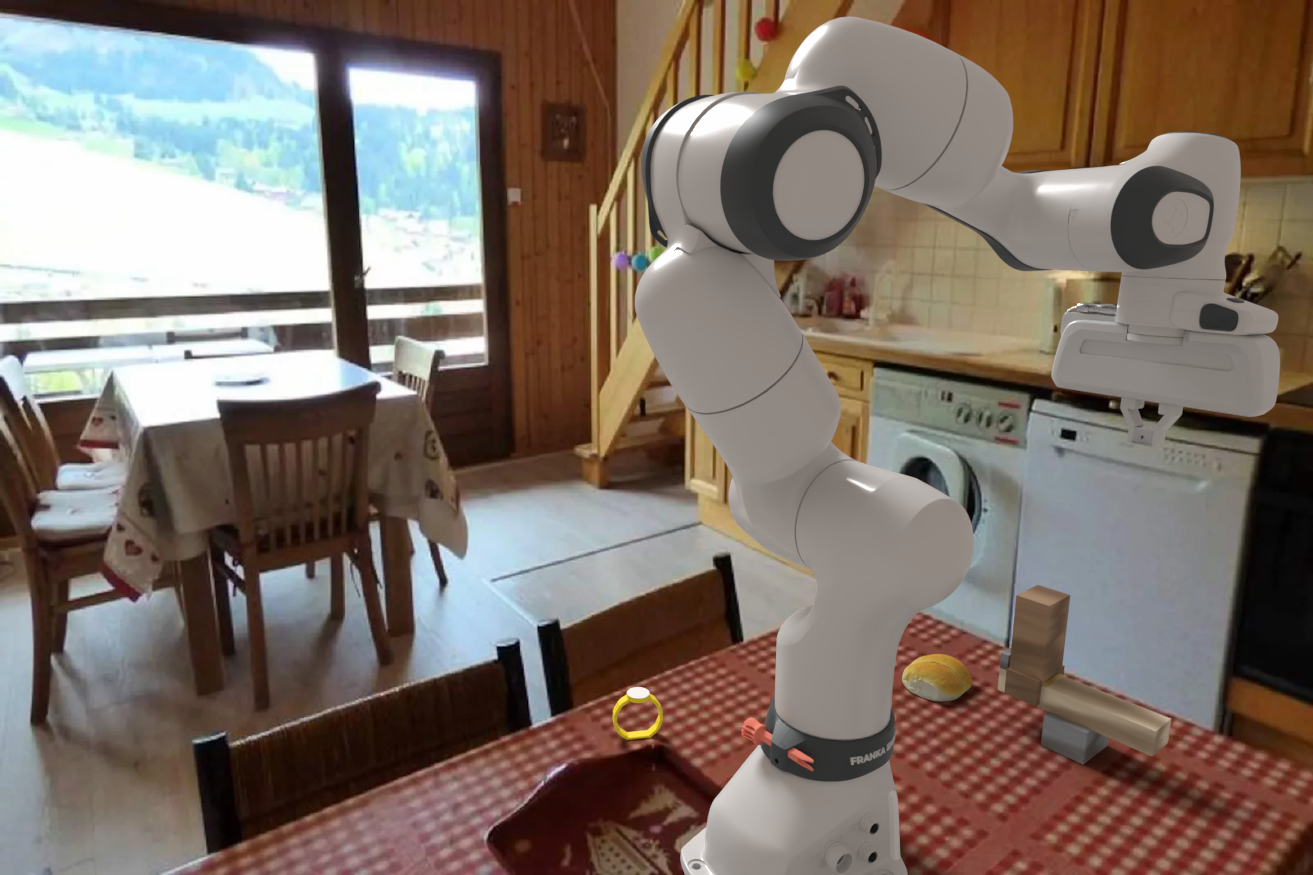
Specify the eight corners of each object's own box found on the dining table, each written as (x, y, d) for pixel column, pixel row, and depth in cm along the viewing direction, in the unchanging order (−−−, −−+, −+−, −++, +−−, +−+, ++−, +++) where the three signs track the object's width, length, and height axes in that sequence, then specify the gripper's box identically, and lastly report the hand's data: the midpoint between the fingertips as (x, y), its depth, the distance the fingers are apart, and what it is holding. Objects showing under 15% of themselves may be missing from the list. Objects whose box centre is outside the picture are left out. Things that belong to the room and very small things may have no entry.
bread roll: (979, 684, 116) (981, 657, 115) (950, 710, 109) (952, 682, 108) (922, 664, 121) (924, 638, 120) (891, 688, 115) (893, 660, 114)
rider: (1035, 706, 101) (1046, 607, 98) (1004, 693, 104) (1013, 596, 101) (1061, 689, 105) (1072, 593, 102) (1030, 677, 108) (1040, 583, 105)
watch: (659, 729, 105) (662, 685, 104) (662, 742, 103) (666, 697, 102) (610, 731, 104) (613, 686, 103) (613, 744, 102) (616, 698, 100)
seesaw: (1143, 792, 93) (1154, 717, 91) (990, 721, 106) (996, 655, 104) (1166, 771, 96) (1177, 699, 94) (1016, 705, 110) (1022, 641, 108)
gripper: (1049, 300, 91) (1032, 428, 94) (1272, 317, 75) (1243, 470, 78) (1080, 300, 94) (1063, 423, 97) (1299, 316, 78) (1270, 462, 81)
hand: (1144, 444), depth 87 cm, fingers closed
